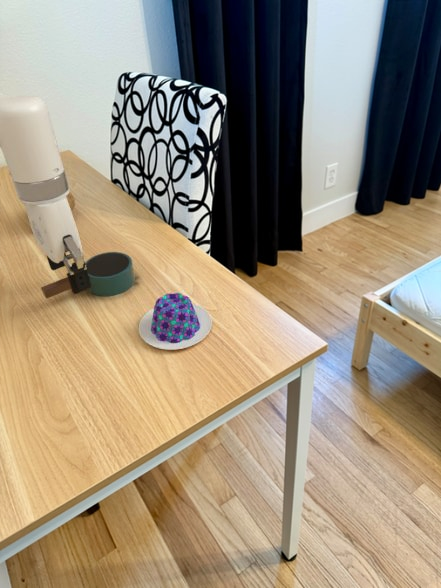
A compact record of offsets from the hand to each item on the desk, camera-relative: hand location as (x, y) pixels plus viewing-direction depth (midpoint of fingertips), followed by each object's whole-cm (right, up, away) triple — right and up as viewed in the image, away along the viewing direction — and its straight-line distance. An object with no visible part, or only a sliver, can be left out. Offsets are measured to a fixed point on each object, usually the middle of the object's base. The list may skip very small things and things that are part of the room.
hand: (70, 278), depth 76 cm
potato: (-13, +15, +28) cm, 34 cm away
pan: (+2, -2, +4) cm, 6 cm away
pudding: (+19, -8, -5) cm, 21 cm away
